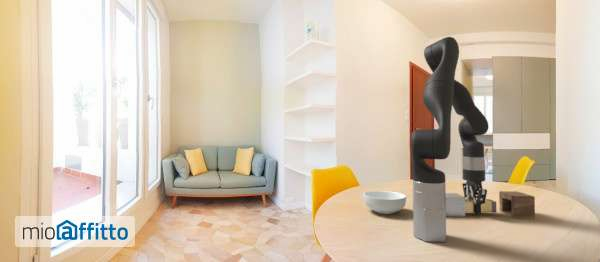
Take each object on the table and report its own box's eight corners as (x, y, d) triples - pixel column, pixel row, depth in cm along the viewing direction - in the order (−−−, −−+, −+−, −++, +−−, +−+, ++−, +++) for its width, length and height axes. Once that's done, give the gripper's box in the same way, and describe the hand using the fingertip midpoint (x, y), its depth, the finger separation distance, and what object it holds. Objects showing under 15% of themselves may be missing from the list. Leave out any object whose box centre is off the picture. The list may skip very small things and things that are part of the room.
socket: (534, 218, 103) (534, 196, 103) (514, 218, 104) (514, 196, 104) (518, 211, 112) (517, 191, 112) (499, 211, 113) (499, 191, 113)
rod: (496, 212, 106) (496, 201, 106) (431, 211, 109) (431, 201, 109) (490, 209, 111) (489, 199, 111) (427, 208, 113) (427, 198, 113)
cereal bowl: (412, 217, 105) (412, 199, 106) (368, 218, 106) (368, 199, 106) (398, 206, 122) (397, 189, 123) (360, 206, 123) (359, 190, 123)
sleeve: (465, 216, 106) (465, 197, 106) (424, 215, 107) (424, 197, 107) (456, 211, 113) (456, 193, 113) (418, 210, 114) (418, 193, 114)
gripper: (494, 170, 102) (495, 217, 102) (474, 166, 116) (474, 207, 116) (473, 170, 102) (473, 217, 102) (455, 166, 117) (455, 207, 117)
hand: (474, 211), depth 109 cm, fingers closed on rod, 4 cm apart
